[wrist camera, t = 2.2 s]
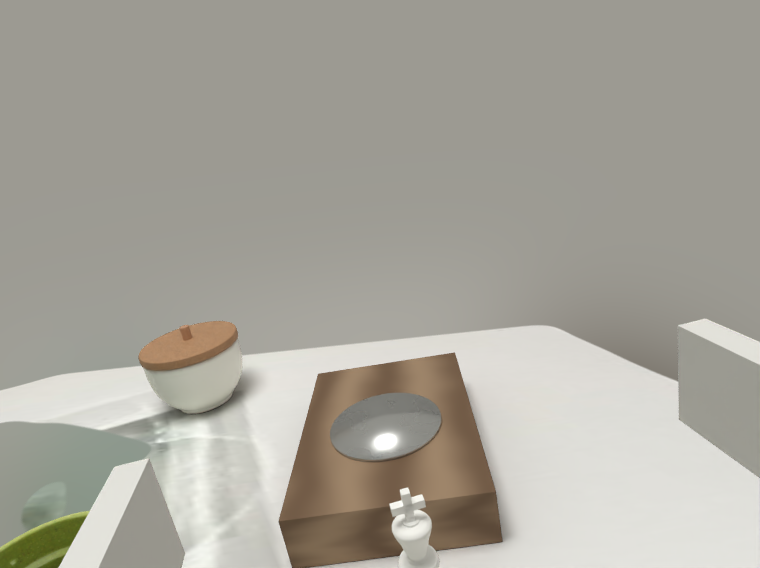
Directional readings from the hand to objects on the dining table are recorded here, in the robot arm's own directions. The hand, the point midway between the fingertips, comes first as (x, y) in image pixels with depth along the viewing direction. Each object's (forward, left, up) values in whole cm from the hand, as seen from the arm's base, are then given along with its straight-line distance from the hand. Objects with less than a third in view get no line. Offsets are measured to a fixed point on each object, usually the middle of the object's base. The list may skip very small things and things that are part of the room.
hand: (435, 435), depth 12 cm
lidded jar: (-26, +42, -20) cm, 53 cm away
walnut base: (-4, +26, -20) cm, 33 cm away
